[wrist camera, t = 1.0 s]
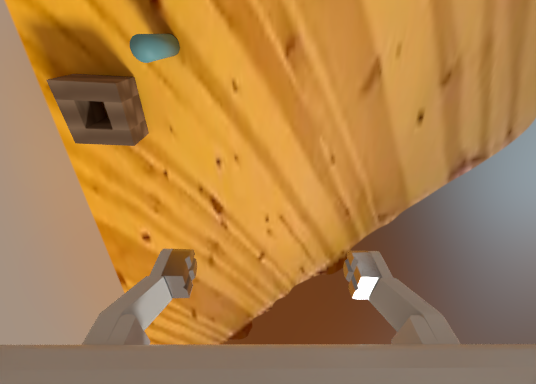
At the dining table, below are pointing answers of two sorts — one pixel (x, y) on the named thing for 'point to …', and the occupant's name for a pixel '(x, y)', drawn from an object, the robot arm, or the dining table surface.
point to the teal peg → (153, 46)
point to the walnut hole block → (100, 108)
